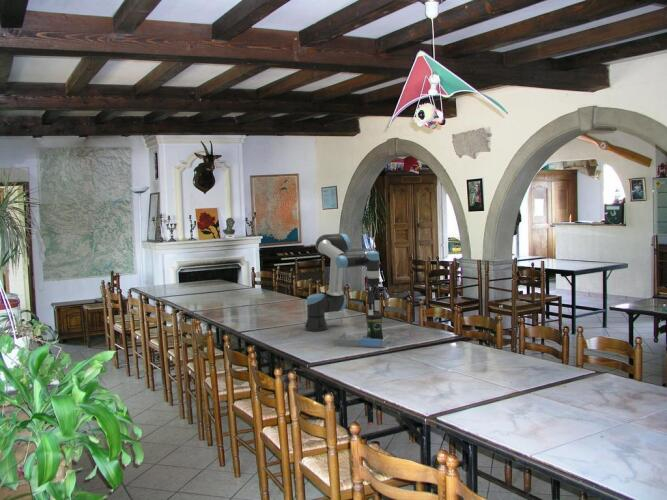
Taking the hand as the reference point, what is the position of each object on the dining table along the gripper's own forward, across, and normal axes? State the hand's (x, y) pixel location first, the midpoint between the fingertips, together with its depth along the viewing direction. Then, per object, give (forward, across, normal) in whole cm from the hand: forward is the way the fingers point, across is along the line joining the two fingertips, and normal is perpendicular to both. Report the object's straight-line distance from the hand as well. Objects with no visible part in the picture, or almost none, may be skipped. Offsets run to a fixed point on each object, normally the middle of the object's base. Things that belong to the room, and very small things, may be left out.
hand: (373, 312), depth 388 cm
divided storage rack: (+18, +2, -7) cm, 20 cm away
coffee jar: (+18, 0, 0) cm, 19 cm away
